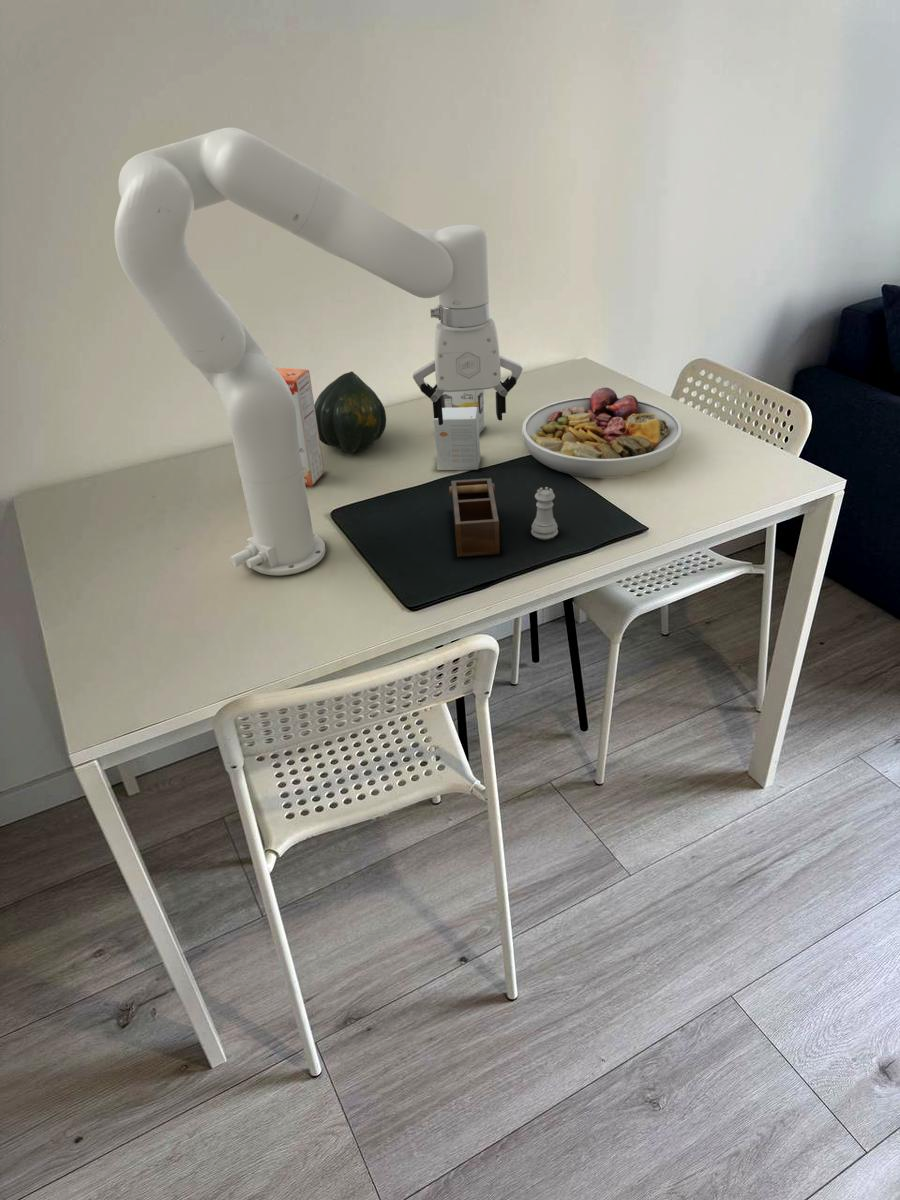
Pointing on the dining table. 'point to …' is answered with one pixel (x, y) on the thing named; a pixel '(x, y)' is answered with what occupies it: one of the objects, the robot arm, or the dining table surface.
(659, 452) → the bowl
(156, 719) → the dining table surface
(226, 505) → the dining table surface
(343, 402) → the squash
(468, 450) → the small box
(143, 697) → the dining table surface
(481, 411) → the ink box
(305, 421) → the cracker box
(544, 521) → the rook chess piece
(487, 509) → the brown wooden shelf box
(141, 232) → the robot arm
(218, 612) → the dining table surface
